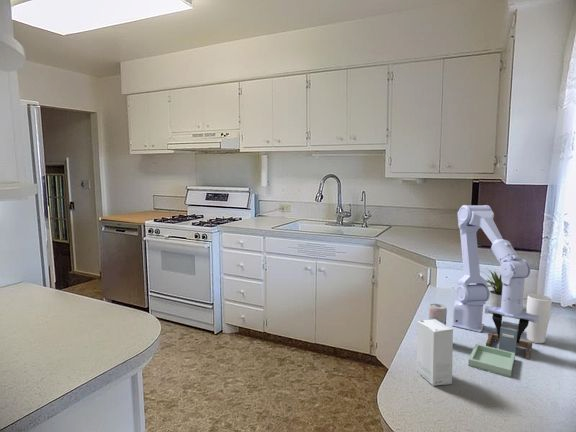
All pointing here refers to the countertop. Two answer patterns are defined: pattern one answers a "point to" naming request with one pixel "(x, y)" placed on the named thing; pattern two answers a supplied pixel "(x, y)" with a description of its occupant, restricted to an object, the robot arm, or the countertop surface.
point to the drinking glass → (542, 309)
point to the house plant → (495, 290)
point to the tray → (492, 360)
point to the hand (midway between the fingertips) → (508, 339)
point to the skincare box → (434, 351)
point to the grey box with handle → (508, 336)
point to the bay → (520, 344)
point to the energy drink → (438, 313)
